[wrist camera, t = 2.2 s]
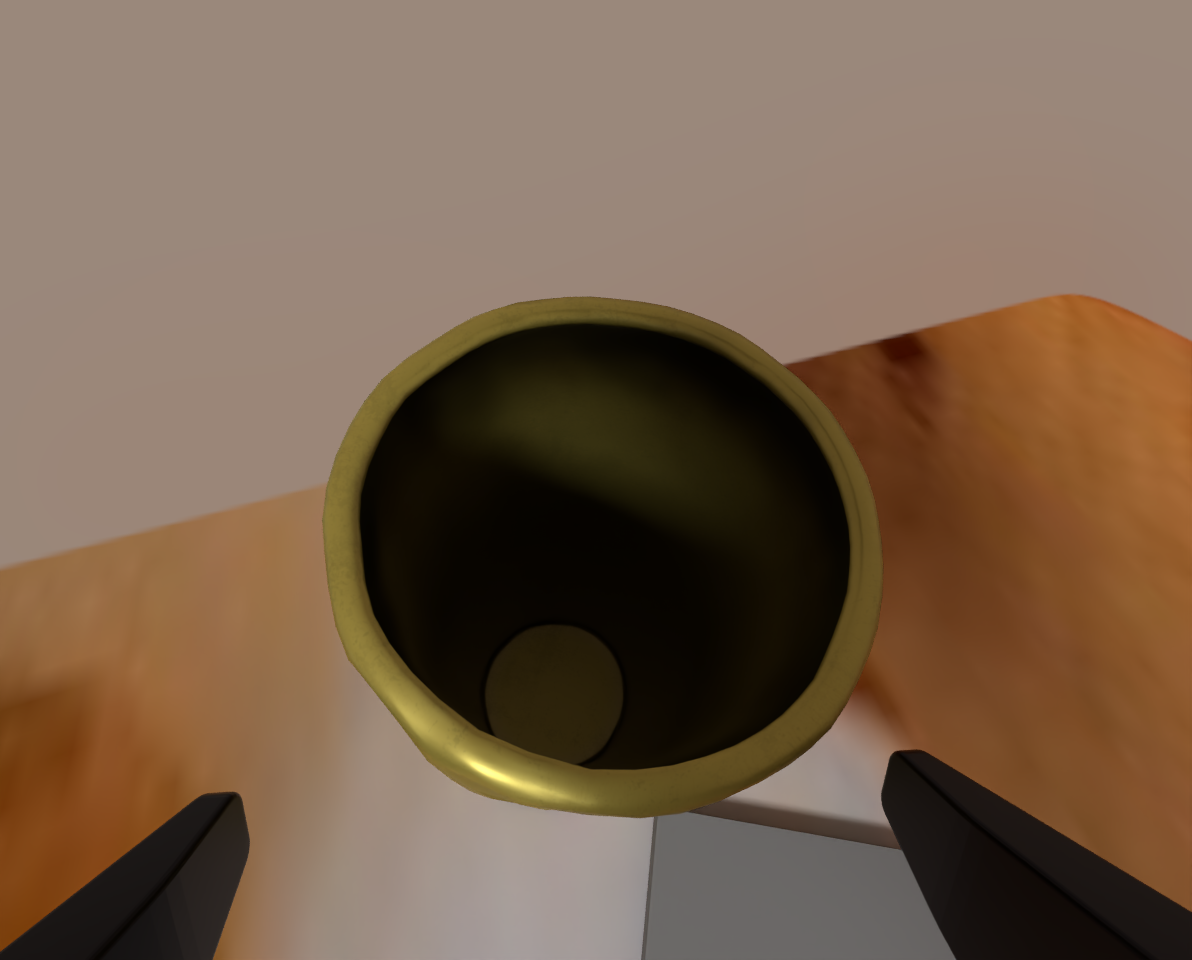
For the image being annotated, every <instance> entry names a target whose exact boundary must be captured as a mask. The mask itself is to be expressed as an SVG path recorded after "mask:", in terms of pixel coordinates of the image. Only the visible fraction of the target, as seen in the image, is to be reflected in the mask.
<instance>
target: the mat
mask: <svg viewBox="0 0 1192 960" xmlns="http://www.w3.org/2000/svg"><path fill="white" fill-rule="evenodd" d="M641 960H956V959H955V957H954V955H953V953H952V952H951V950H950V948H949V946H948V944H947V942H946V940H945V939H944V937H943V935H942V933H941V931H940V929H939V927H938V925H937V923H936V921H935V919H934V917H933V915H932V913H931V911H930V909H929V907H928V905H927V903H926V901H925V899H924V897H923V894H922V892H921V890H920V888H919V886H918V884H917V881H916V879H915V877H914V875H913V873H912V871H911V869H910V866H909V864H908V862H907V860H906V858H905V856H904V854H903V851H902V850H899V849H893V848H888V847H882V846H876V845H871V844H865V843H859V842H854V841H848V840H842V839H837V838H831V837H825V836H820V835H814V834H808V833H803V832H797V831H791V830H786V829H780V828H774V827H769V826H763V825H758V824H752V823H746V822H741V821H735V820H729V819H724V818H718V817H712V816H707V815H701V814H695V813H690V812H684V813H681V814H675V815H665V816H656V817H654V824H653V835H652V846H651V857H650V868H649V880H648V891H647V902H646V913H645V924H644V936H643V947H642V958H641Z"/></svg>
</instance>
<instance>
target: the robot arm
mask: <svg viewBox="0 0 1192 960" xmlns="http://www.w3.org/2000/svg"><path fill="white" fill-rule="evenodd" d="M881 801H882V806H883V809H884V812H885V815H886V817H887V819H888V821H889V823H890V826H891V828H892V830H893V832H894V834H895V836H896V838H897V841H898V843H899V845H900V847H901V849H902V851H903V854H904V856H905V858H906V860H907V862H908V864H909V866H910V869H911V871H912V873H913V875H914V877H915V879H916V881H917V884H918V886H919V888H920V890H921V892H922V894H923V897H924V899H925V901H926V903H927V905H928V907H929V909H930V911H931V913H932V915H933V917H934V919H935V921H936V923H937V925H938V927H939V929H940V931H941V933H942V935H943V937H944V939H945V940H946V942H947V944H948V946H949V948H950V950H951V952H952V953H953V955H954V957H955V959H956V960H1192V912H1191V911H1189V910H1187V909H1186V908H1184V907H1182V906H1181V905H1179V904H1177V903H1176V902H1174V901H1172V900H1171V899H1169V898H1167V897H1166V896H1164V895H1162V894H1161V893H1159V892H1157V891H1156V890H1154V889H1152V888H1151V887H1149V886H1148V885H1146V884H1144V883H1143V882H1141V881H1139V880H1138V879H1136V878H1134V877H1133V876H1131V875H1129V874H1128V873H1126V872H1124V871H1123V870H1121V869H1119V868H1118V867H1116V866H1114V865H1113V864H1111V863H1109V862H1108V861H1106V860H1104V859H1103V858H1101V857H1099V856H1098V855H1096V854H1094V853H1093V852H1091V851H1089V850H1088V849H1086V848H1084V847H1083V846H1081V845H1079V844H1078V843H1076V842H1074V841H1073V840H1071V839H1070V838H1068V837H1066V836H1065V835H1063V834H1061V833H1060V832H1058V831H1056V830H1055V829H1053V828H1051V827H1050V826H1048V825H1046V824H1045V823H1043V822H1041V821H1040V820H1038V819H1036V818H1035V817H1033V816H1031V815H1030V814H1028V813H1026V812H1025V811H1023V810H1021V809H1020V808H1018V807H1016V806H1015V805H1013V804H1011V803H1010V802H1008V801H1006V800H1005V799H1003V798H1001V797H1000V796H998V795H996V794H995V793H993V792H992V791H990V790H988V789H987V788H985V787H983V786H982V785H980V784H978V783H977V782H975V781H973V780H972V779H970V778H968V777H967V776H965V775H963V774H962V773H960V772H958V771H957V770H955V769H953V768H952V767H950V766H948V765H947V764H945V763H943V762H942V761H940V760H938V759H937V758H935V757H933V756H932V755H930V754H928V753H927V752H925V751H922V750H917V749H916V750H900V751H895V752H894V753H893V754H892V755H891V756H890V759H889V763H888V767H887V771H886V775H885V779H884V784H883V788H882V793H881ZM249 847H250V839H249V833H248V827H247V822H246V817H245V812H244V807H243V801H242V798H241V796H240V795H239V794H238V793H237V792H219V793H207V794H203V795H201V796H200V797H198V798H196V799H195V800H194V801H192V802H191V803H190V804H189V805H187V806H186V807H185V808H183V809H182V810H181V811H180V812H178V813H177V814H176V815H175V816H173V817H172V818H171V819H169V820H168V821H167V822H166V823H164V824H163V825H162V826H160V827H159V828H158V829H157V830H155V831H154V832H153V833H152V834H150V835H149V836H148V837H146V838H145V839H144V840H143V841H141V842H140V843H139V844H137V845H136V846H135V847H134V848H132V849H131V850H130V851H129V852H127V853H126V854H125V855H123V856H122V857H121V858H120V859H118V860H117V861H116V862H114V863H113V864H112V865H111V866H109V867H108V868H107V869H106V870H104V871H103V872H102V873H100V874H99V875H98V876H97V877H95V878H94V879H93V880H91V881H90V882H89V883H88V884H86V885H85V886H84V887H82V888H81V889H80V890H79V891H77V892H76V893H75V894H74V895H72V896H71V897H70V898H68V899H67V900H66V901H65V902H63V903H62V904H61V905H59V906H58V907H57V908H56V909H54V910H53V911H52V912H51V913H49V914H48V915H47V916H45V917H44V918H43V919H42V920H40V921H39V922H38V923H36V924H35V925H34V926H33V927H31V928H30V929H29V930H28V931H26V932H25V933H24V934H22V935H21V936H20V937H19V938H17V939H16V940H15V941H13V942H12V943H11V944H10V945H8V946H7V947H6V948H5V949H3V950H2V951H1V952H0V960H213V957H214V954H215V951H216V948H217V945H218V943H219V940H220V937H221V934H222V931H223V928H224V925H225V922H226V919H227V917H228V914H229V911H230V908H231V905H232V902H233V899H234V896H235V893H236V891H237V888H238V885H239V882H240V879H241V876H242V873H243V870H244V867H245V865H246V862H247V858H248V854H249Z"/></svg>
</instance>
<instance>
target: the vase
mask: <svg viewBox="0 0 1192 960" xmlns="http://www.w3.org/2000/svg"><path fill="white" fill-rule="evenodd" d="M322 523H323V538H324V552H325V562H326V572H327V581H328V589H329V594H330V599H331V604H332V610H333V615H334V620H335V625H336V628H337V631H338V634H339V636H340V639H341V642H342V644H343V647H344V649H345V652H346V655H347V657H348V660H349V661H350V662H351V663H352V664H353V666H354V667H355V668H356V669H357V671H358V672H359V673H360V674H361V676H362V677H363V678H364V679H365V681H366V682H367V683H368V684H369V686H370V687H371V688H372V689H373V691H374V692H375V693H376V694H377V696H378V697H379V698H380V700H381V701H382V702H383V703H384V705H385V706H386V707H387V708H388V710H389V711H390V712H391V714H392V715H393V716H394V717H395V719H396V720H397V721H398V722H399V724H400V725H401V726H402V728H403V729H404V730H405V732H406V733H407V734H408V736H409V737H410V738H411V740H412V741H413V742H414V744H415V745H416V746H417V748H418V749H419V750H420V752H421V753H422V754H423V755H424V757H425V758H426V759H427V761H428V762H429V763H431V764H432V765H433V766H435V767H436V768H437V769H438V770H440V771H441V772H442V773H444V774H445V775H446V776H447V777H449V778H450V779H451V780H453V781H454V782H456V783H458V784H459V785H461V786H463V787H464V788H466V789H468V790H469V791H472V792H474V793H477V794H479V795H482V796H485V797H488V798H491V799H496V800H502V801H507V802H513V803H517V804H520V805H525V806H530V807H534V808H538V809H544V810H551V809H552V810H559V811H565V812H572V813H578V814H585V815H598V816H614V817H631V818H646V817H656V816H665V815H675V814H681V813H684V812H688V811H691V810H694V809H697V808H700V807H703V806H706V805H710V804H713V803H716V802H719V801H721V800H723V799H725V798H727V797H729V796H731V795H733V794H736V793H738V792H740V791H742V790H744V789H746V788H749V787H751V786H753V785H755V784H757V783H759V782H761V781H763V780H764V779H766V778H768V777H769V776H771V775H773V774H774V773H776V772H778V771H780V770H781V769H783V768H785V767H786V766H788V765H789V764H791V763H792V762H793V761H795V760H796V759H797V758H799V757H800V756H801V755H802V754H804V753H805V752H806V751H808V750H809V749H810V748H811V747H812V746H813V745H814V744H815V743H816V742H817V741H818V740H819V739H820V738H821V737H822V736H823V735H824V734H826V733H827V732H828V731H829V730H830V729H831V727H832V726H833V724H834V723H835V721H836V720H837V718H838V717H839V715H840V713H841V712H842V710H843V709H844V707H845V706H846V704H847V702H848V700H849V698H850V696H851V694H852V692H853V690H854V688H855V686H856V684H857V682H858V680H859V678H860V675H861V673H862V671H863V668H864V666H865V663H866V661H867V659H868V656H869V654H870V651H871V648H872V645H873V642H874V638H875V635H876V632H877V628H878V622H879V615H880V608H881V601H882V590H883V556H882V542H881V534H880V527H879V520H878V515H877V509H876V504H875V499H874V496H873V492H872V489H871V486H870V483H869V480H868V477H867V475H866V473H865V470H864V468H863V466H862V464H861V462H860V460H859V458H858V456H857V454H856V452H855V450H854V448H853V447H852V445H851V443H850V441H849V439H848V438H847V436H846V434H845V432H844V431H843V429H842V428H841V426H840V425H839V423H838V422H837V420H836V419H835V417H834V416H833V414H832V413H831V411H830V410H829V409H828V408H827V407H826V406H825V404H824V403H823V402H822V401H821V400H820V399H819V398H818V397H817V396H816V395H815V394H814V393H813V392H812V391H811V390H810V389H809V388H808V387H807V386H806V385H805V384H804V383H803V382H802V381H801V380H800V379H799V378H798V377H797V376H795V375H794V374H793V373H792V372H790V371H789V370H788V369H787V368H785V367H784V366H783V365H782V364H780V363H779V362H778V361H777V360H775V359H774V358H773V357H771V356H770V355H769V354H768V353H766V352H765V351H764V350H763V349H761V348H760V347H758V346H757V345H755V344H754V343H752V342H751V341H749V340H748V339H746V338H745V337H743V336H742V335H740V334H739V333H736V332H734V331H732V330H730V329H728V328H726V327H724V326H722V325H720V324H718V323H715V322H713V321H710V320H707V319H705V318H702V317H700V316H697V315H694V314H692V313H688V312H685V311H682V310H678V309H675V308H671V307H668V306H662V305H657V304H651V303H645V302H639V301H630V300H621V299H611V298H600V297H563V298H553V299H542V300H535V301H527V302H519V303H515V304H511V305H508V306H505V307H501V308H498V309H495V310H491V311H489V312H486V313H483V314H480V315H478V316H475V317H473V318H471V319H469V320H467V321H465V322H464V323H462V324H460V325H458V326H456V327H454V328H453V329H451V330H450V331H448V332H446V333H445V334H443V335H442V336H440V337H438V338H437V339H435V340H434V341H432V342H431V343H429V344H428V345H426V346H425V347H423V348H422V349H420V350H418V351H417V352H415V353H414V354H412V355H411V356H410V357H408V358H407V359H405V360H404V361H403V362H402V363H401V364H399V365H398V366H397V367H396V368H395V369H394V370H392V371H391V372H390V373H389V374H388V375H386V376H385V377H384V378H383V379H382V380H381V381H380V383H379V384H378V385H377V386H376V388H375V389H374V390H373V391H372V393H371V394H370V395H369V396H368V398H367V399H366V400H365V401H364V403H363V405H362V406H361V408H360V409H359V411H358V413H357V414H356V416H355V418H354V419H353V421H352V423H351V424H350V426H349V428H348V430H347V432H346V435H345V437H344V439H343V441H342V444H341V446H340V448H339V450H338V452H337V454H336V457H335V461H334V464H333V467H332V471H331V474H330V477H329V481H328V484H327V488H326V495H325V503H324V510H323V518H322Z"/></svg>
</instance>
